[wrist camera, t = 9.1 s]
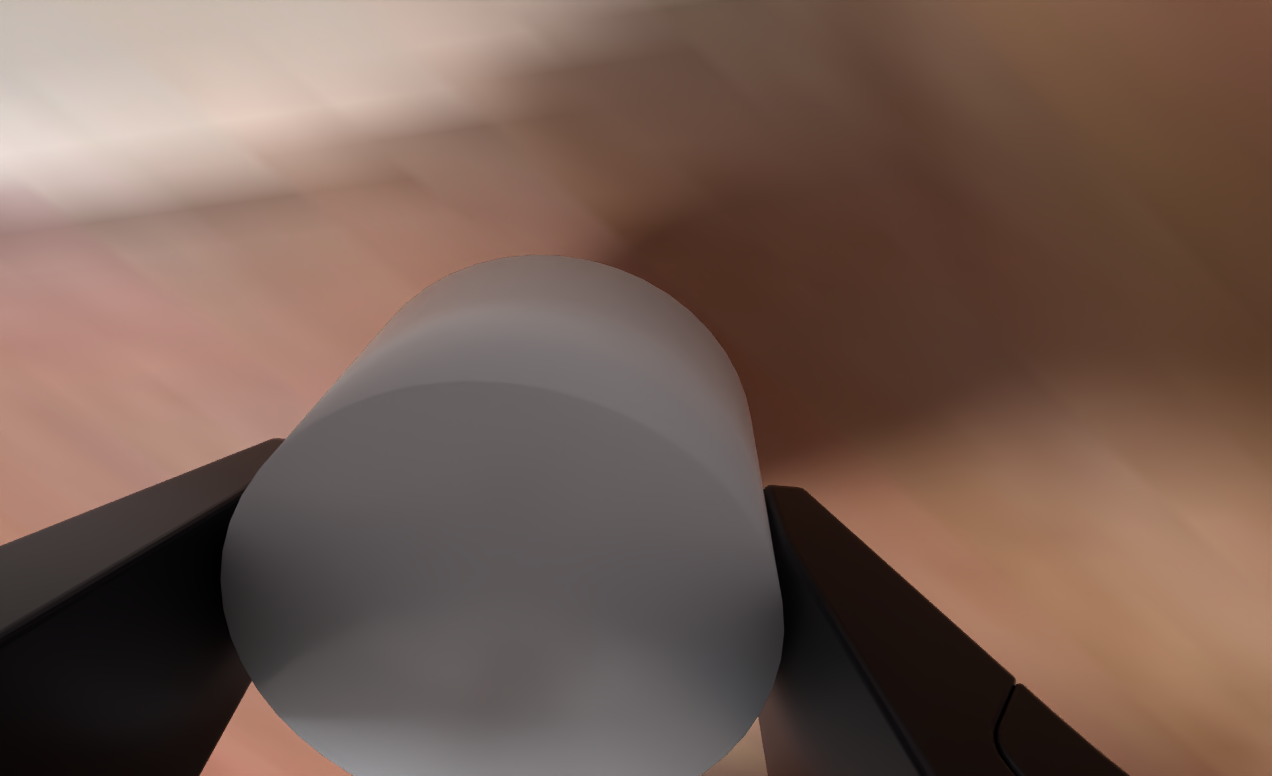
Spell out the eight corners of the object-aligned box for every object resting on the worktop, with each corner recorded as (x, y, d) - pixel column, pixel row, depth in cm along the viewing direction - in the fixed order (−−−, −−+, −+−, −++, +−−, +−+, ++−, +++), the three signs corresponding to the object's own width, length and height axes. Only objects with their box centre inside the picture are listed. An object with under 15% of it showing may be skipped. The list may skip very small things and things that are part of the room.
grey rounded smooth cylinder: (781, 274, 9) (831, 411, 6) (726, 619, 11) (743, 844, 8) (338, 236, 9) (176, 353, 6) (367, 587, 11) (258, 798, 8)
